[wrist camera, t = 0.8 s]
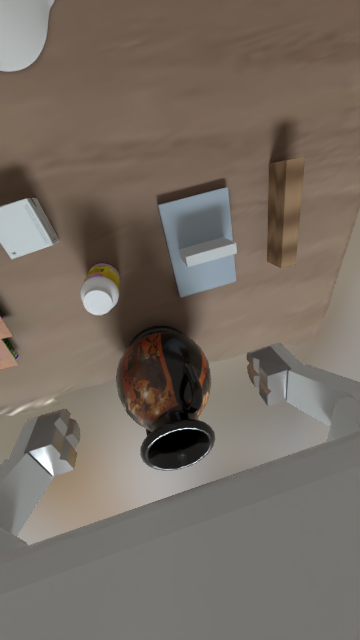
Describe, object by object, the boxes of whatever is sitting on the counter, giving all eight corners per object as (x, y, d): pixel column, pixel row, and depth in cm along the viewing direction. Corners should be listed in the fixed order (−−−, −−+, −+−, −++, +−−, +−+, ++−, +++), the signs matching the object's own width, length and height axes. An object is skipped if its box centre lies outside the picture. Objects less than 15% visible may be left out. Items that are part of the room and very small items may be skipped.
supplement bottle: (107, 256, 47) (102, 276, 36) (126, 282, 50) (126, 307, 39) (80, 273, 47) (67, 298, 37) (101, 297, 51) (94, 326, 40)
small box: (61, 240, 44) (54, 246, 40) (21, 253, 44) (10, 260, 39) (37, 196, 40) (26, 197, 35) (-7, 210, 39) (-23, 212, 35)
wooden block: (268, 163, 45) (286, 160, 40) (284, 160, 45) (305, 156, 40) (266, 261, 55) (281, 268, 50) (280, 257, 56) (295, 264, 51)
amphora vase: (174, 386, 69) (201, 487, 46) (105, 369, 61) (93, 484, 37) (210, 330, 62) (264, 417, 38) (136, 302, 53) (146, 393, 30)
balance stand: (157, 204, 44) (163, 207, 37) (224, 187, 45) (242, 186, 38) (179, 295, 55) (186, 310, 48) (233, 279, 56) (248, 291, 49)
